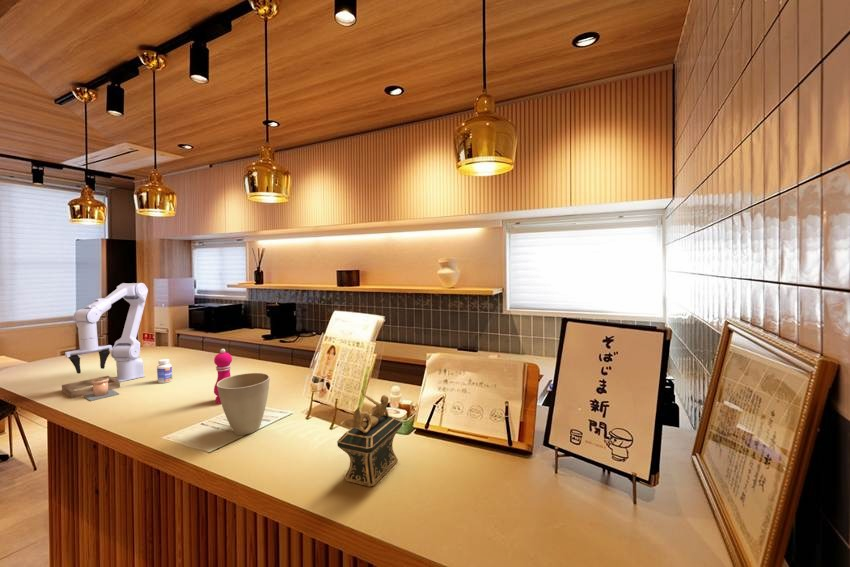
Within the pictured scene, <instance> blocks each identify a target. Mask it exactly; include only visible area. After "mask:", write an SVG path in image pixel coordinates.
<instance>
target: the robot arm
mask: <svg viewBox="0 0 850 567" xmlns="http://www.w3.org/2000/svg"><path fill="white" fill-rule="evenodd" d="M148 292H149V289H148V287H147V286H146V284H145V283H144V282H136V283H135V282H132V283H125V282H122V283H120V284H119V285H117V286H116V289H115V290H113V291H112V292H111V293H109V294H108V295H107V296H105V297H104V298H95V299H94V301H93V302H92V303H90V304H88V305H86V306H85V307H84V308H79V309H78V310H76V311H75V312H74V314H73V316H72V319H73V321H74V322H75V324H76V326H75V327H76V328H77V332H78V342H79V343H78V344H79V346H78V347H79V349H75V350H74V349H73V350H70V351H65V352H64V356H65V358H68V359H69V361H70V362H71V363H72V365H73V366H74V368H75V371H76V374H81V373H82V372H81V357H80V356H83V355H88V354H95V353H98V355H99V367H100V369H105V367H106V362H107V359H108V357H109V356H111V357H112V359H114V361H115V362H116V376H117V377H113V379H115V380H117V381H119V382H120V383H122V382H125V381H131V380H134V379H139V378H144V377H145V372H144V371H145V370H144V368H145V367H144V361H143V358H142V357H140V354H141V342H139V340H138V339H137V336H138V332H139V329H140V324H141V322H142V317H143V313H144V309H145V305H146V300H147V296H148ZM122 298H123V299H124V301H126V302H127V303H128V304H129V305H130V306H129V307H128V308H129V309H128V312H127V316H126V320H125V323H124V326H123V327H124V328H123V331H122V334H121V337H120V338H119V339H117V340H116V341H114V345H111V344H108V345H99V341H98V339H99V338H98V327H97V325H98V324H97V322H99V321H100V318H101V316H102V315H103V314H104V313H106V312H107V311H109V310H110V309H111V308H112V305H113V304H114V303H116V302H117V301H119V300H121V299H122Z"/></svg>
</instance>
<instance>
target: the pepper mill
mask: <svg viewBox="0 0 850 567" xmlns="http://www.w3.org/2000/svg"><path fill="white" fill-rule="evenodd" d="M213 361H214V364H215V371H216V372H217V378H216V381H215V384H214V386H213V387H214V388H213V393H214V395H215V396H216V397H215V403H216V404H219V405H222V404H221V401H220V397H219V393H218V389H217V383H218V382H219V381H220V380H222V379H225V378H227V377H231V376H232V375H231V369H232V364H231V363H232V361H233V357H232V354H230V353H229V352H226V349H225V348H221V349H220V350H219V353H217V354H216V355H215V356H214V359H213Z"/></svg>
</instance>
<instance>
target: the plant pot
mask: <svg viewBox="0 0 850 567" xmlns="http://www.w3.org/2000/svg"><path fill="white" fill-rule="evenodd" d="M230 376H231V377H227V378H225V379H222V380H220V381H219V382H218V383H217V389H218V393H219V397H220V401H221V404H220V405H221V407H222V410H223V412H224V415H225V417H226V420H227V422H228V425H229V426H230V427H231V429H232V431H233V433H234V434H235V435H239V436H242V435H249V434H253V433H256V431H258V430H259V429H260V427H261V424H262V421H263V418H264V413H265V411H266V406H267V400H268V398H269V397H268V396H269V389H270V380H271V377H270V375H269V374H267V373H265V372H264V373H263V372H246V373H240V374H234V375H230Z"/></svg>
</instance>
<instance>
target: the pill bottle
mask: <svg viewBox="0 0 850 567" xmlns="http://www.w3.org/2000/svg"><path fill="white" fill-rule="evenodd" d="M172 367H173V366H172V364H171V363H170V359H169V358H163V359H159V360H158V365H157V366H156V373H157V377H156V378H157V383H159V384H165V383H170V382H172V381H173V369H172Z"/></svg>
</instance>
